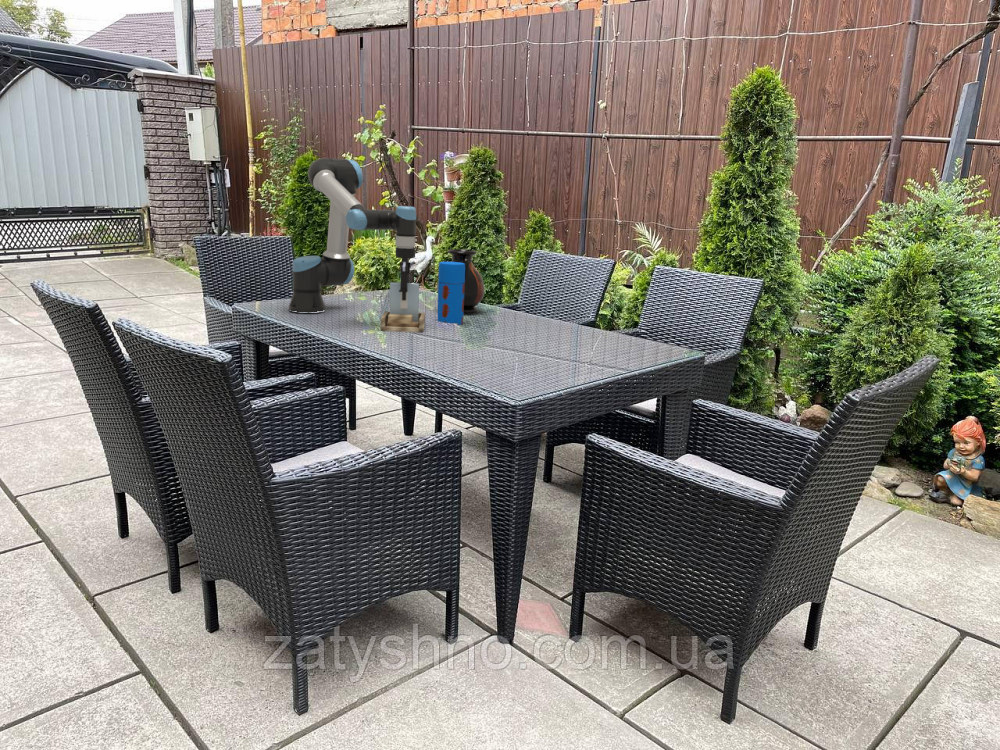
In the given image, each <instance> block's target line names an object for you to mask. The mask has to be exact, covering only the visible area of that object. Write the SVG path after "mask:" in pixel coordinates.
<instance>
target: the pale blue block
mask: <svg viewBox="0 0 1000 750" xmlns="http://www.w3.org/2000/svg"><path fill="white" fill-rule="evenodd" d="M400 288H401V282H394V281H393V282H389V311H390V314H406V315H413V320H412V322H418V313H420V312H419V308H420V306H419V304H420V283H414V282H413V283H412V282H409V283H408V285H407V290H408V291H407V292H408V306H407V309H401V308H400V300H401V292H399V290H400Z"/></svg>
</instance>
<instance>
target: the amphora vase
mask: <svg viewBox="0 0 1000 750" xmlns="http://www.w3.org/2000/svg"><path fill="white" fill-rule="evenodd" d="M447 253H448V254H450V255H451V258H452V259H451V262H460V263H464V264H465V288H464V314H463V315H473V314H476V313H477V312H478V311H479V308H478V307H477V306H478V305H479V304H480V303H481V301H482V300H483V299H484V296H485V284H484V283H485V282H484V280H483V277H482V276H483V275H482V274H481V273H480V272H479V270H478V269H477V268H476V267H475V265H474V263H473V261H472V259H473V256H474V255H476V254H477V251H476V250H474V249H473V250H472V249H464V248H462V249H461V248H452V249H451V248H450V249H448V250H447ZM438 282H439V281H437V283H438ZM436 292H437V294H438V284H437V286H436Z"/></svg>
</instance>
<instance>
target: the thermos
mask: <svg viewBox="0 0 1000 750" xmlns="http://www.w3.org/2000/svg"><path fill="white" fill-rule="evenodd" d="M437 280H438V281H439V282H438V281H437V285H438V293H437V321H438V322H440V323H445V324H457V326H461V325H463V323H464V315H465V314H464V288H465V264H464V263H460V262H452V261H441V262H439V264H438V279H437Z"/></svg>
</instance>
